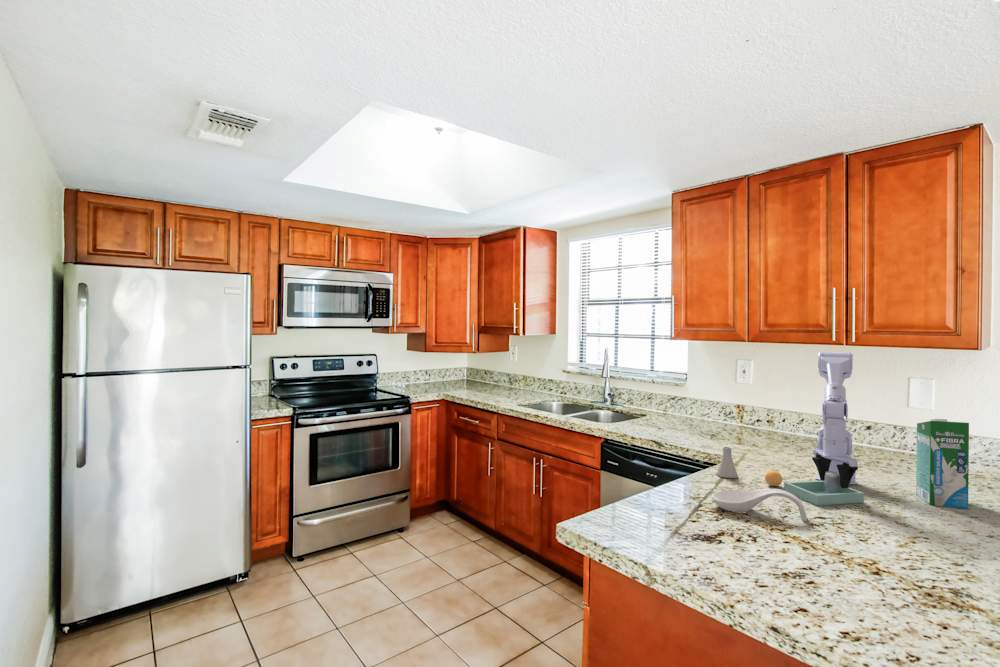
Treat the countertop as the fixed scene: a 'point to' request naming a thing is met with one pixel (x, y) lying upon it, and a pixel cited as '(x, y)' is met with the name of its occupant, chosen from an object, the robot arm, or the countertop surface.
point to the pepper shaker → (832, 483)
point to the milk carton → (943, 463)
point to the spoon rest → (752, 499)
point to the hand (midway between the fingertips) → (834, 484)
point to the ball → (773, 478)
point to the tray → (822, 493)
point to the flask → (727, 465)
